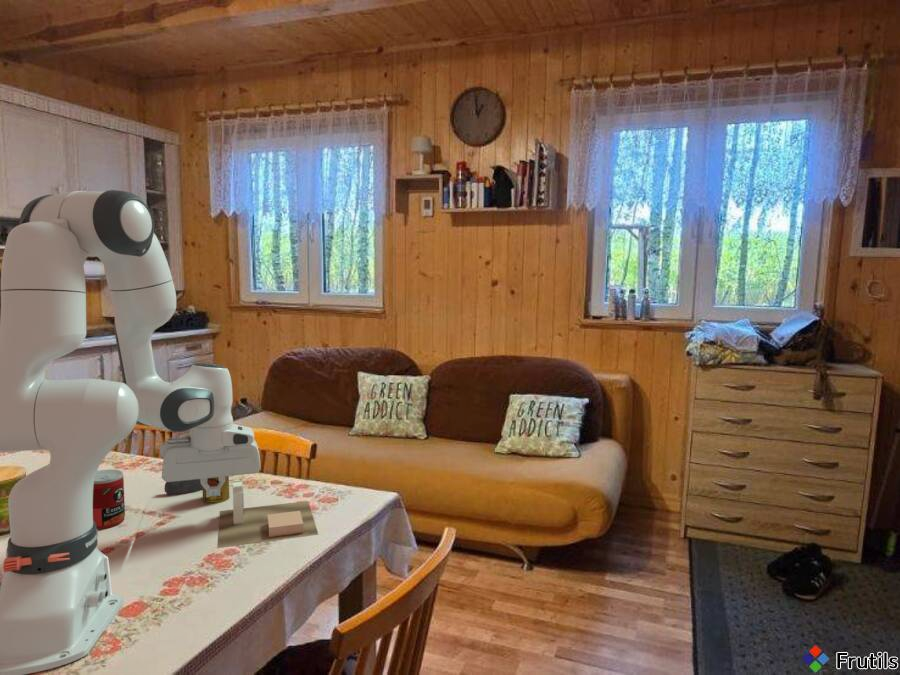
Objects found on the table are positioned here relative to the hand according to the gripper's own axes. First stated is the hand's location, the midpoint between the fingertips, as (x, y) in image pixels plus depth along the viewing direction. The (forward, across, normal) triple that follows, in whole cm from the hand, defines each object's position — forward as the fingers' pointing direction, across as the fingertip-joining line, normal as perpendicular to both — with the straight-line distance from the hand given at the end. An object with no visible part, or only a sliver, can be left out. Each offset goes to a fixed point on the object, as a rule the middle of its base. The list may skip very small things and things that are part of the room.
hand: (213, 495), depth 129 cm
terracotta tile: (+4, +11, -10) cm, 15 cm away
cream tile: (+6, +5, -1) cm, 8 cm away
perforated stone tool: (+7, -5, +22) cm, 23 cm away
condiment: (+7, 0, +13) cm, 15 cm away
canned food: (+7, -23, +9) cm, 25 cm away
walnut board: (+7, +11, -5) cm, 14 cm away
